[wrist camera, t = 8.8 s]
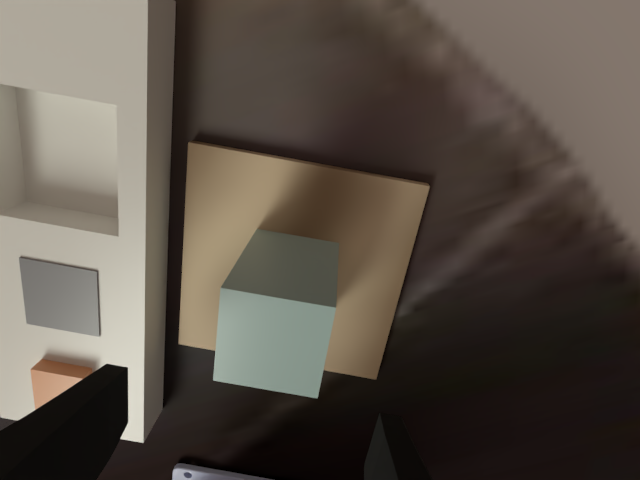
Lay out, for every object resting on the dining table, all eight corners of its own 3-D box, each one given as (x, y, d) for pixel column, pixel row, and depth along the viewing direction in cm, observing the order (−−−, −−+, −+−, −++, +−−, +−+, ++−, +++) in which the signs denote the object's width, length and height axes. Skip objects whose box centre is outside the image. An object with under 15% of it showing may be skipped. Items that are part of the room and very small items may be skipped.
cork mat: (427, 183, 19) (429, 186, 18) (375, 372, 23) (376, 379, 22) (192, 140, 19) (188, 142, 18) (182, 337, 23) (178, 343, 22)
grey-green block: (339, 242, 19) (336, 308, 14) (325, 313, 21) (317, 398, 15) (256, 228, 19) (220, 287, 14) (249, 300, 21) (213, 380, 15)
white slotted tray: (176, 1, 17) (136, -18, 13) (162, 408, 25) (136, 455, 22) (-17, -35, 16) (-100, -62, 13) (33, 385, 25) (-12, 429, 21)
